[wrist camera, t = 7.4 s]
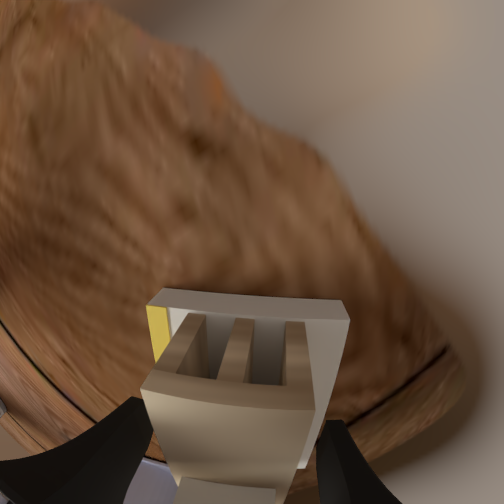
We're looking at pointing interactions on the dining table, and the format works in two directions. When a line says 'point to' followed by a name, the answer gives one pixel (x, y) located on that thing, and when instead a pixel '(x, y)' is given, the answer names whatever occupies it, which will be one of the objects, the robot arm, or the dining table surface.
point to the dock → (260, 336)
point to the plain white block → (220, 493)
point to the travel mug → (2, 408)
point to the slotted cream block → (231, 408)
